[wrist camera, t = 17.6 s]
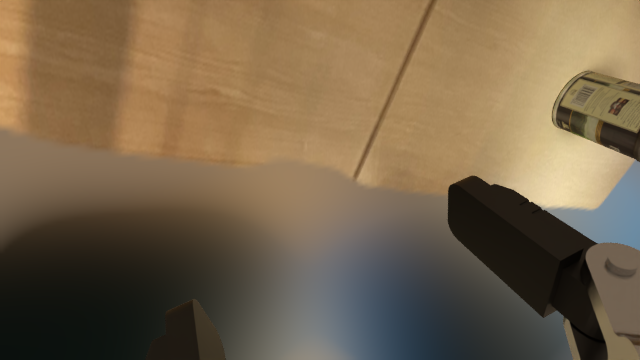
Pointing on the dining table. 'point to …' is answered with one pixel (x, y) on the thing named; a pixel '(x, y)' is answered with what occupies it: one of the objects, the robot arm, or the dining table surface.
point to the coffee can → (601, 111)
